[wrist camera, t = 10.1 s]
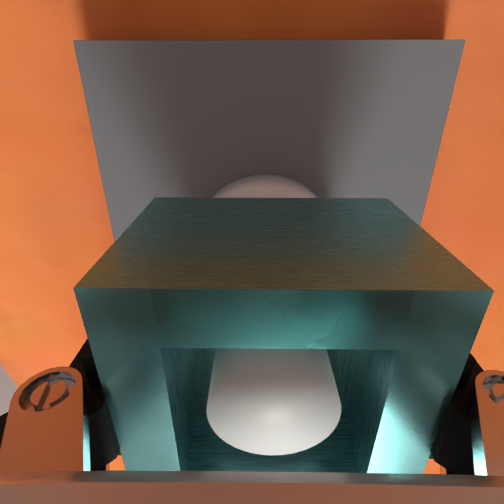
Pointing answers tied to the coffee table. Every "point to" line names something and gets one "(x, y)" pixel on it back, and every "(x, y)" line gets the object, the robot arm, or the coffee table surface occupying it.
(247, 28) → the coffee table surface
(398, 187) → the post plate
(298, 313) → the collar
